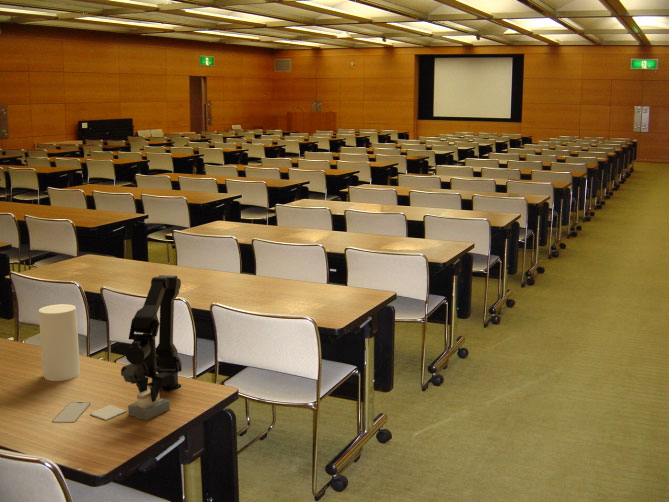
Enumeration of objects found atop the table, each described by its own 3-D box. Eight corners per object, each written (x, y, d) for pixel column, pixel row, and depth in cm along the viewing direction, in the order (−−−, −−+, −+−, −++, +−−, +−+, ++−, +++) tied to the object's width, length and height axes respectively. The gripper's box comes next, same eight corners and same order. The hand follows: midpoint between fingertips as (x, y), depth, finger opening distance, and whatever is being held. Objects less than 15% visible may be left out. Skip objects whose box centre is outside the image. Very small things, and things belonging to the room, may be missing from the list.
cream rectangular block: (154, 407, 228) (153, 387, 227) (160, 409, 227) (159, 388, 226) (138, 414, 223) (137, 394, 221) (143, 416, 221) (142, 395, 220)
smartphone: (50, 421, 217) (69, 402, 231) (50, 424, 217) (69, 403, 231) (74, 422, 216) (91, 402, 231) (74, 424, 217) (92, 404, 231)
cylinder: (78, 379, 252) (73, 312, 247) (40, 382, 249) (35, 314, 244) (82, 367, 263) (77, 303, 259) (46, 370, 261) (41, 305, 256)
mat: (109, 406, 229) (109, 404, 229) (126, 411, 225) (126, 410, 225) (89, 414, 222) (89, 413, 222) (106, 420, 218) (106, 419, 218)
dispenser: (152, 403, 231) (151, 394, 230) (169, 409, 227) (169, 399, 226) (128, 414, 223) (127, 404, 222) (146, 420, 219) (145, 410, 218)
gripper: (106, 354, 219) (108, 401, 222) (147, 366, 209) (150, 415, 212) (133, 345, 229) (136, 390, 232) (174, 356, 219) (176, 403, 222)
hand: (148, 399), depth 224 cm, fingers open, 4 cm apart
